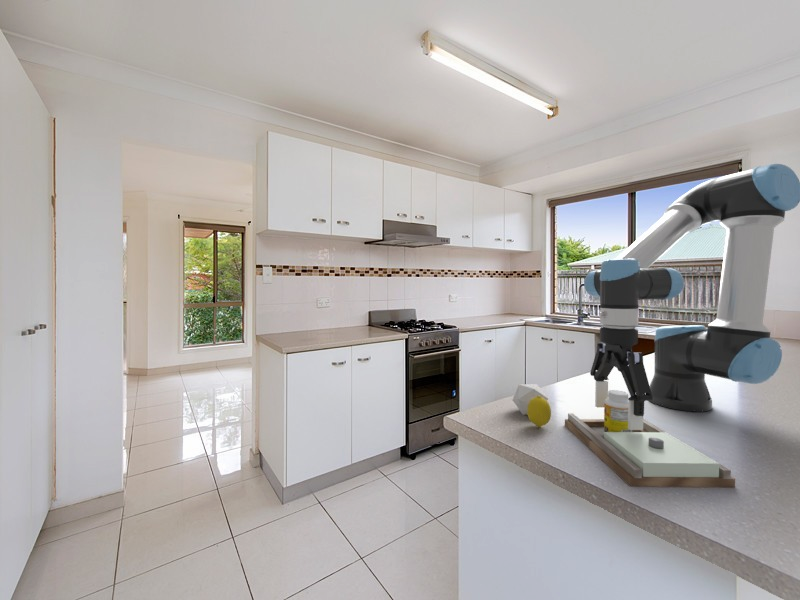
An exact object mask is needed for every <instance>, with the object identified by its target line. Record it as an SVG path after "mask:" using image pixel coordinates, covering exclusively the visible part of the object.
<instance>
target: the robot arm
mask: <svg viewBox="0 0 800 600" xmlns="http://www.w3.org/2000/svg"><path fill="white" fill-rule="evenodd" d="M799 204H800V179H799V177H798V175H797V174H796V173H795V171H794V170H793V169H792V168H791V167H789V166H787V165H786V164H782V163H772V164H768V165H762V166H761V165H760V166H756V167H754V168H751V169H748V170H747V169H746V170H743V171H739V172H735V173H731V174H728V175H724V176H723V175H722V176H720V177H715V178H712V179H709V180H707V181H705V182H702V183H700V184H698V185H696V186H695V187H693V188H692V189H690V190H688V191H687V192H686V193H684V194H682V195H681V196H680V197H678V198H677V199H676V200H675V201H673V203H671V204H670V205H669V206H668V207H667V208H666V209H664V212H663V216H662V217H661V218H659V220H657V221H656V222H655V223H654V224H653V225H652V226H650V228H649V229H647V231H645V232H644V233H643V234H642V235H641V236H639V237H638V238H637V239H636V240H635V241H633V243H631V245H629V246H628V247H627V248H626V249H625V250H624V251H622V253H620V254H619V255H617V257H616V258H614V259H605V260H604V261H603V262H601V264H600V265H601V266H600V269H596V270H593V271H592V270H591V271H590V272H588V273H587V274H586V276H585V278H584V282H583V284H584V285H583V287H584V289H585V291H586V293H587V294H588V295H589V296H591V297H596V298H599V302H600V304H599V305H600V306H599V309H600V310H599V313H598V315H599V323H600V325H602V326H600V327H599V342H597V346H596V353H595V356H594V359H593V363H592V366H591V369H590V372H589V373H590V376H591V377H593V380H594V381H595V399H594V400H595V404H594V407H596V408H604V401H605V399H606V398H608V391H609V378H608V377H609V375H610V374H611V372H612V370H614V367H615V368H616V369H617V371H618V372H620V373H621V375H622V376H621V377H622V378H623V380H624V383H625V385H626V388H627V391H628V394H629V396H630V397H629V396H628V429H629V430H643V419H644V416H645V402H646V401H648V402H650V403H653V404H655V405H656V406H657V405H658V406H660V407H664V408H668V409H673V410H679V411H685V412H686V411H687V412H696V413H697V412H699V413H700V412H709V411H711V410H712V409H713V400H712V397H711V394H710V391H709V389H708V386H707V383H706V380H705V377H706V375H708V376H713V377H718V378H722V379H726V380H729V381H730V380H731V381H732V382H735V383H743V384H744V383H746V384H752V385H757V384H762V383H764V382H767V381H768V380H770V378H772V377H773V376H774V375H775V373H776V372H777V371H778V370H779V367H780V365H781V361H782V357H783V351H782V349H781V345H780V343H779V342H778V341H777V340H775V339H773V338H771V330H770V329H768V327H767V326H766V325H764V315H765V307H766V298H767V292H768V291H767V289H768V282H769V275H770V268H771V267H770V265H771V260H772V259H771V258H772V249H773V241H774V240H773V239H774V233H775V228H776V227H777V226H778V225H780V224H782V223H783V222H785V216H786V212H788V211H792V210H794V209H795V208H796V207H797V206H799ZM718 221H719V224H720V225H721V226H722V227H724V228H725V229H726V233H725V234H726V235H725V244H724V252H723V259H722V260H723V261H722V268H721V276H720V285H719V293H718V294H719V295H718V303H717V310H716V311H717V312H716V318H715V320H713V321H712V322H710V323H708V325H707V328H706V326H705V325H700V324H699V325H698V324H697V325H696V324H695V325H691V324H690V325H668V326H660V327H658V328H657V329H656V330H655V338H654V340H653V341H654V375H653V377H652V379H651V381H650V383H649V379H648V376H647V375H648V374H647V372H646V368H645V365H644V357H643V356H644V355H643V352H640V351H639V352H635V351H634V352H633V346H636V345H638V343H639V330H638V328H637V326H639V313H640V312H639V309H640V307H639V301H642V300H643V301H644V300H646V301H647V300H648V301H650V300H652V301H653V300H654V301H655V300H659V301H660V300H661V301H664V300H669V299H670V300H671V299H673V298H675V297H678V296H679V295H680V294H681V293H682V290H683V289H684V284H685V281H684V280H685V279H684V277H683V275H682V274H681V273H680V272H679V270H676V269H674V268H671V267H665V266H663V267H651V266H652V265H653V264H654V263H655V262H656V261H658V260H659V259H660V258H661V257H662V256H664V254H666V253H667V252H668V251H669V250H670V249H671V248H672V247H673V246H674V245H676V244H677V243H678V242H679V241H680V240H681V239H682V238H683V237H684V236H686V235H687V234H688V233H693V232H695V231H696V230H699V228H700V227H702V226H703V225H706V224H710V223H712V222H718Z"/></svg>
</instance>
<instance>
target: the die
mask: <svg viewBox="0 0 800 600" xmlns="http://www.w3.org/2000/svg"><path fill="white" fill-rule="evenodd" d="M537 396H541V397H542V398H544V399H545V400H546V401H547V402H548V400H549V398H548V396H547V395H546V394H545V393H544V391H543V390H542V388H541V387H539V385H538V383H527V384H524V383H523V384H522V383H521V384H520V383H519V384H518V386H517V388H516V391H515V393H514V396H513V397H512V402H514V404H515V406H516V407H517V409H518V410H519V412H520V413H521V415H522V416H526V415H527V416H528V414H527V408H528V404H529V402H530V400H531V399H533V398H534V397H537Z"/></svg>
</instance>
